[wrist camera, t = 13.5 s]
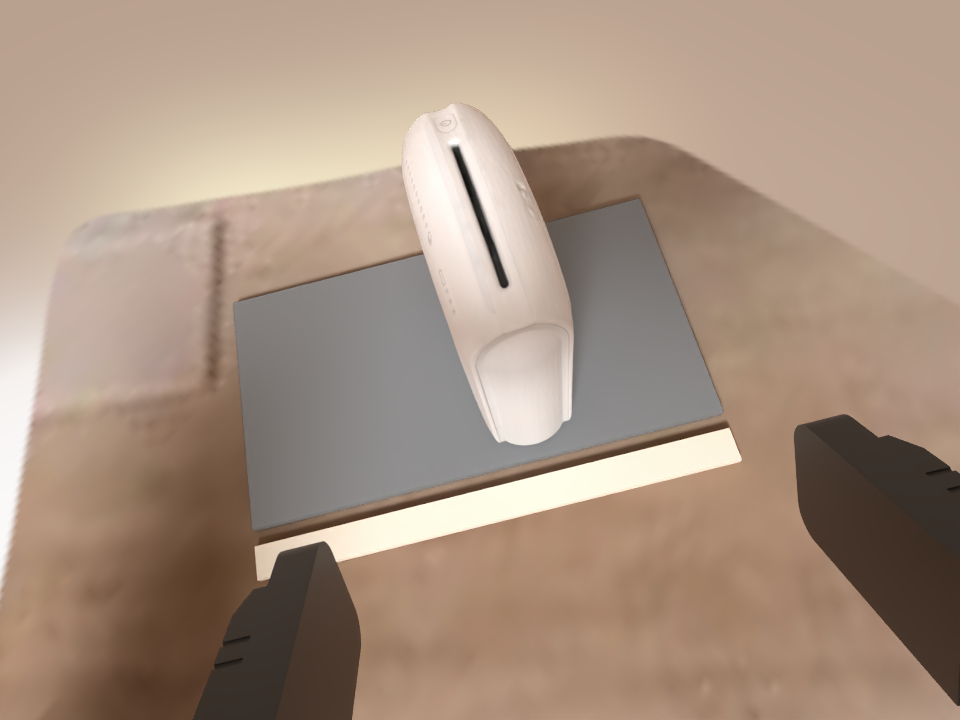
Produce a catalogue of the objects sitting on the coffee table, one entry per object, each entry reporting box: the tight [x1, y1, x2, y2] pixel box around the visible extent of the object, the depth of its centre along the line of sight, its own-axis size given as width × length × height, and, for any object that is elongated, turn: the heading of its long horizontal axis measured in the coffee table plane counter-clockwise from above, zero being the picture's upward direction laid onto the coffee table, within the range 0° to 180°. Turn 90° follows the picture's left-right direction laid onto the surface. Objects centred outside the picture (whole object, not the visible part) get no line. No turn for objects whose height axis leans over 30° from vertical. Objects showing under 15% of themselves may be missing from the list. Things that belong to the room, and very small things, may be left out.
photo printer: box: [402, 103, 574, 445], centre depth 26 cm, size 10×4×12 cm, turn 17°
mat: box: [233, 198, 742, 581], centre depth 32 cm, size 22×14×1 cm, turn 103°
